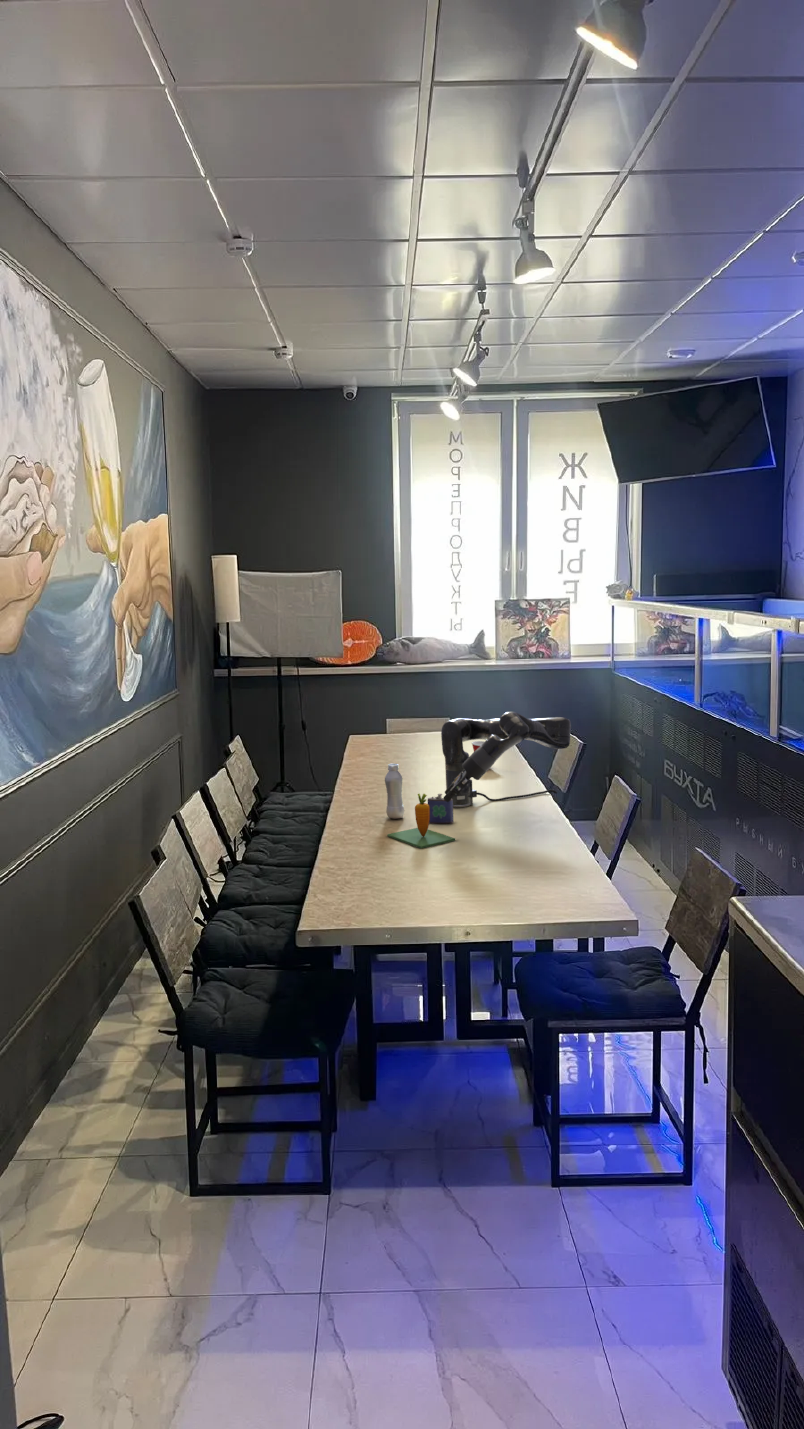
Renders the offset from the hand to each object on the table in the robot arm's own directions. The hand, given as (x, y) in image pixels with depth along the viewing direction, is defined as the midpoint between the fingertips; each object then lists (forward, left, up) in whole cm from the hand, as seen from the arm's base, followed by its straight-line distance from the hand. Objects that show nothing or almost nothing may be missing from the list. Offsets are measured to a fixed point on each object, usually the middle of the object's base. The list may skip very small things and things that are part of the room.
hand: (445, 797), depth 319 cm
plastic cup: (-83, -83, -14) cm, 118 cm away
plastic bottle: (-3, -35, -14) cm, 38 cm away
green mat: (+6, -6, -14) cm, 17 cm away
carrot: (+6, -5, -14) cm, 16 cm away
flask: (-11, -18, -14) cm, 26 cm away
